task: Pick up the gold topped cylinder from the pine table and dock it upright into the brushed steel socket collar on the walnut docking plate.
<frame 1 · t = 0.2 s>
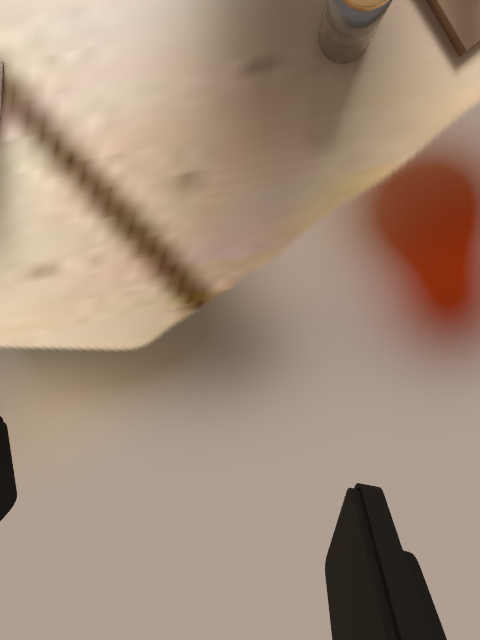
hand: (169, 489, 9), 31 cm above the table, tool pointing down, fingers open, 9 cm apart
gold topped cylinder: (345, 33, 30), on the table
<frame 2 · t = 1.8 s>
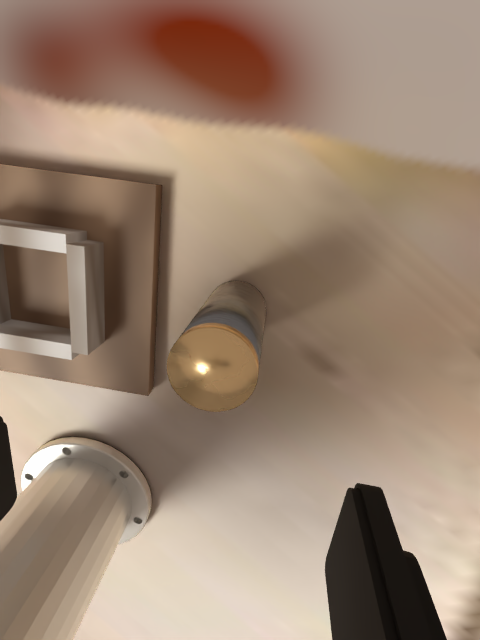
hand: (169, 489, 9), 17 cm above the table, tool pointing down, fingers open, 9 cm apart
gold topped cylinder: (236, 309, 26), on the table
docking plate: (57, 282, 26), on the table
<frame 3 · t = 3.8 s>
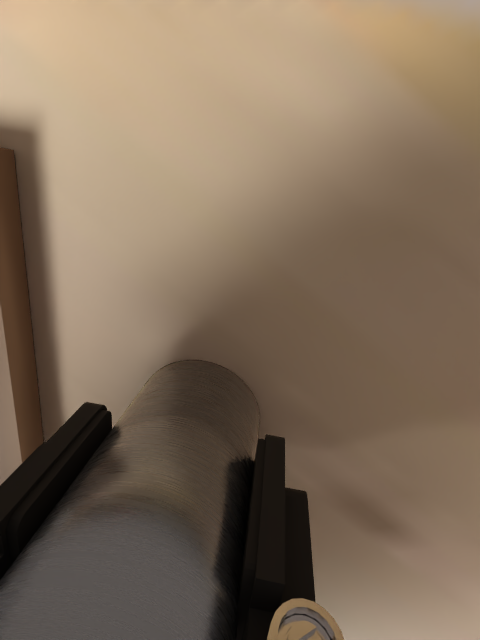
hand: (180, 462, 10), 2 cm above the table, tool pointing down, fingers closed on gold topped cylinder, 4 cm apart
gold topped cylinder: (198, 415, 12), on the table, touching gripper
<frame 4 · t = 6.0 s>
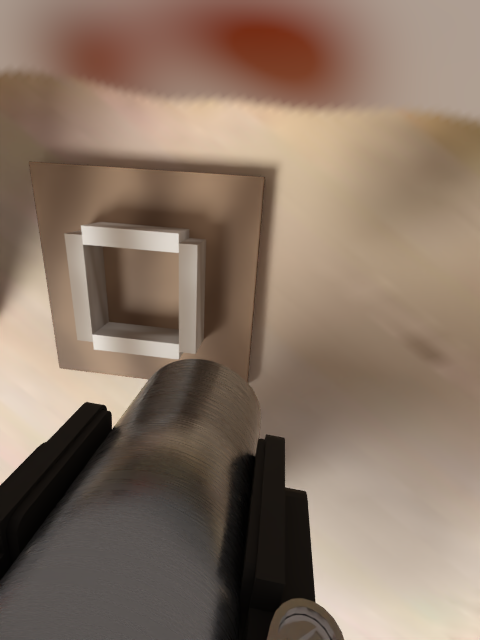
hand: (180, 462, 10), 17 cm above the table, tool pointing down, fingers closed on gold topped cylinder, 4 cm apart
gold topped cylinder: (200, 413, 12), point 15 cm above the table, touching gripper
docking plate: (152, 282, 26), on the table
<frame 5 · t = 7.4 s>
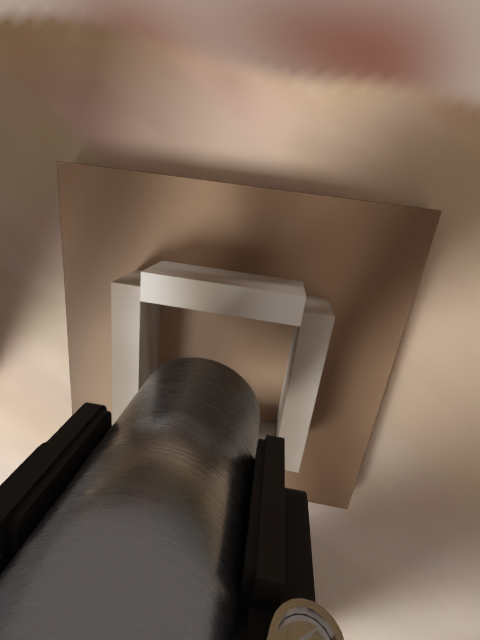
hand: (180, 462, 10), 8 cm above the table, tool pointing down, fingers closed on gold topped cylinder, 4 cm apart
gold topped cylinder: (199, 412, 12), point 6 cm above the table, touching gripper
docking plate: (225, 348, 18), on the table
when the fingers open (5 cm above the table, at t = 8.3 s): gold topped cylinder drops 2 cm, resting on docking plate.
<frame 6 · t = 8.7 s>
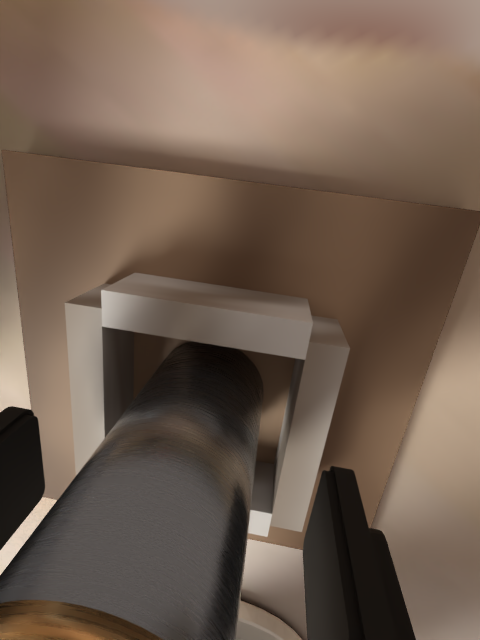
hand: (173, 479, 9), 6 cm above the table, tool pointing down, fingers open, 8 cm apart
gold topped cylinder: (209, 389, 14), point 1 cm above the table, touching docking plate
docking plate: (214, 374, 15), on the table
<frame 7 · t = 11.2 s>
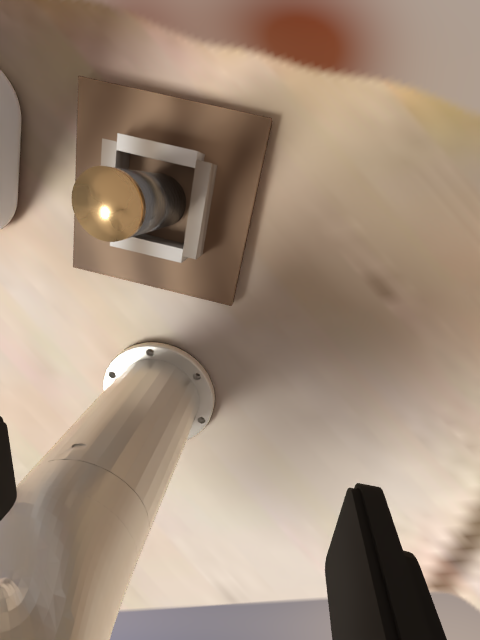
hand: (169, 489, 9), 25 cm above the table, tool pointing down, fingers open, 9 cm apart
gold topped cylinder: (161, 200, 30), point 1 cm above the table, touching docking plate
docking plate: (165, 200, 31), on the table
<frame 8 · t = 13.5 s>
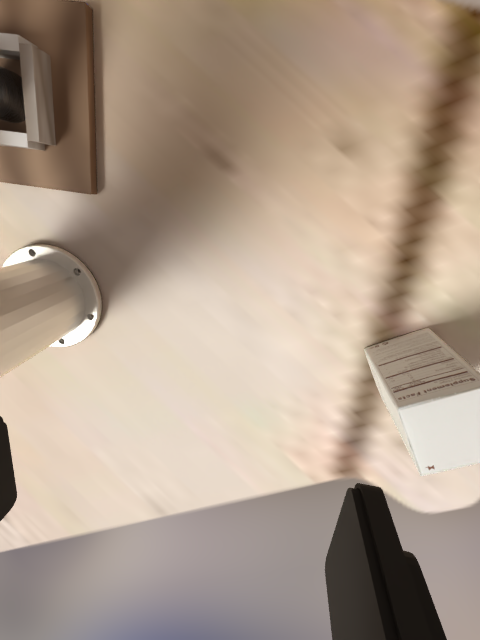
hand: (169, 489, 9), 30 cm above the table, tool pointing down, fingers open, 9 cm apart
gold topped cylinder: (11, 97, 33), point 1 cm above the table, touching docking plate
supplement box: (403, 362, 39), on the table
docking plate: (19, 100, 35), on the table
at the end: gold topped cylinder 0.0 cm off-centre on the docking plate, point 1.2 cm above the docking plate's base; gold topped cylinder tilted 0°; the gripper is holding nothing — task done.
